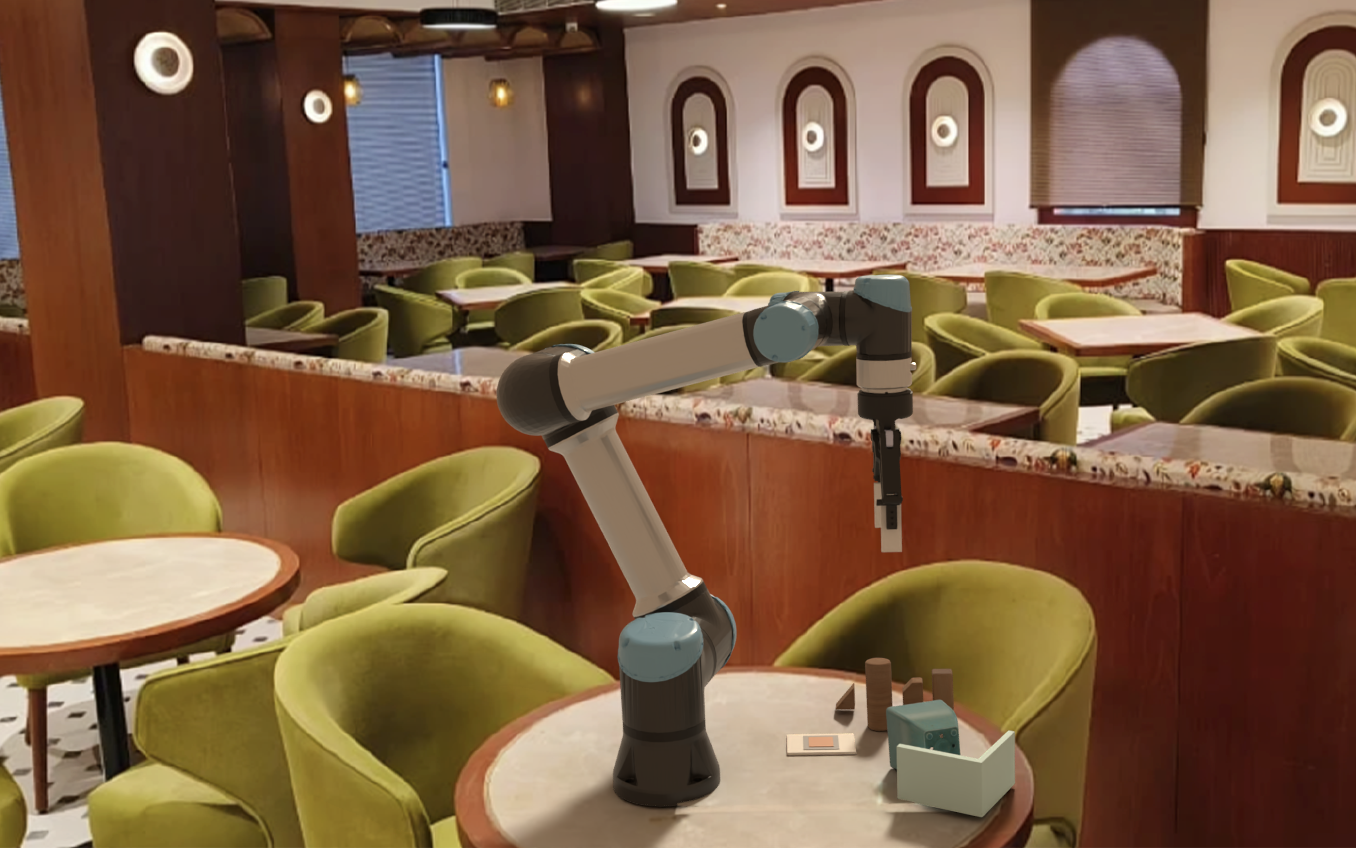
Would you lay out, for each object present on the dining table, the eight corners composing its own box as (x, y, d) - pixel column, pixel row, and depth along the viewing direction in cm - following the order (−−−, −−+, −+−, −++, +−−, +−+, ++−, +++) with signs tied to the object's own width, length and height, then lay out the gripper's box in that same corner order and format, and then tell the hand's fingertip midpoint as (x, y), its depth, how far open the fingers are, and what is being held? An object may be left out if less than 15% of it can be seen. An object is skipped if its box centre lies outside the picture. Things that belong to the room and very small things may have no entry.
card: (787, 755, 212) (787, 751, 212) (787, 737, 219) (786, 733, 219) (856, 754, 212) (856, 750, 212) (853, 735, 219) (853, 732, 219)
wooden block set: (953, 714, 226) (950, 649, 225) (955, 731, 217) (953, 663, 216) (836, 715, 228) (833, 650, 228) (834, 732, 220) (831, 665, 219)
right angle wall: (1015, 783, 200) (1014, 731, 199) (982, 817, 190) (981, 763, 189) (933, 767, 206) (932, 717, 205) (897, 799, 196) (896, 746, 195)
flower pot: (915, 785, 198) (889, 768, 206) (974, 776, 200) (947, 759, 209) (910, 721, 197) (885, 707, 206) (970, 712, 199) (942, 699, 208)
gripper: (921, 401, 187) (923, 561, 191) (904, 374, 212) (907, 517, 215) (862, 403, 188) (866, 563, 191) (852, 376, 212) (856, 518, 216)
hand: (887, 539), depth 203 cm, fingers open, 13 cm apart
